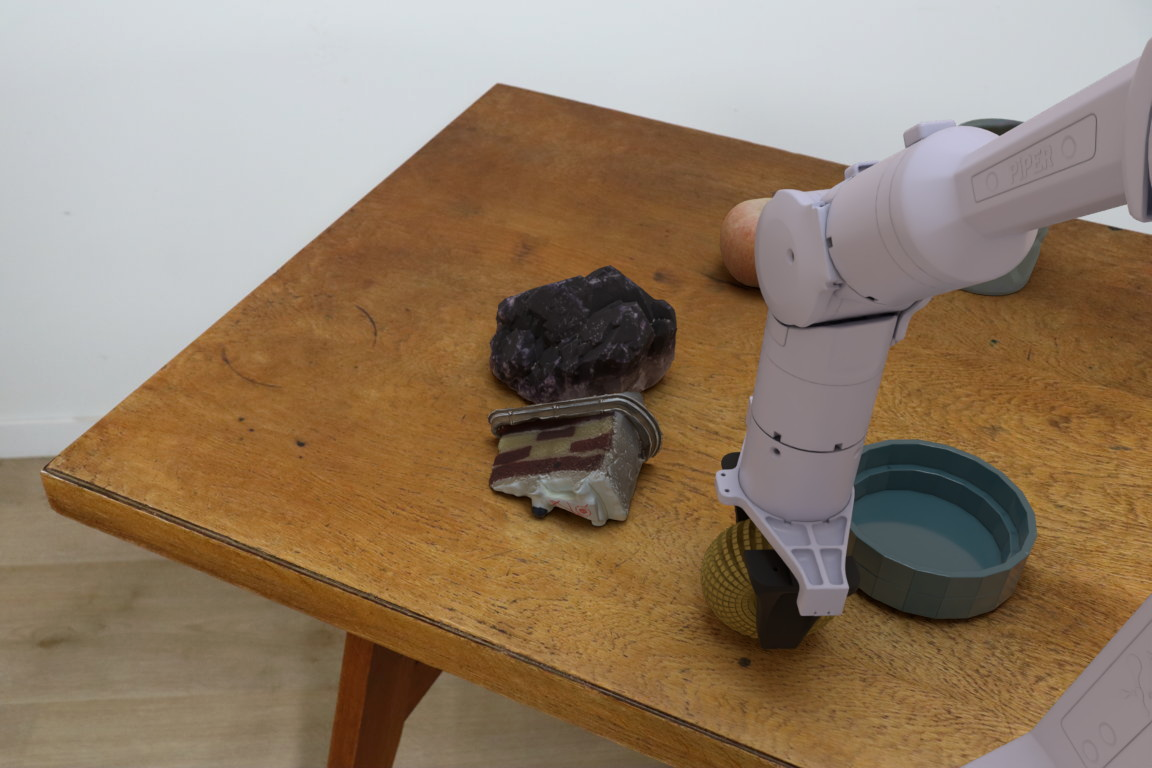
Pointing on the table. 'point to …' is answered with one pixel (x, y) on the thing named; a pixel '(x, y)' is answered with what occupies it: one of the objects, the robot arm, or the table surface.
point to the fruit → (742, 240)
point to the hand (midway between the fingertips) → (767, 603)
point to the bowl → (937, 529)
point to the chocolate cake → (575, 453)
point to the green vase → (1023, 271)
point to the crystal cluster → (583, 338)
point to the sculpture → (736, 578)
